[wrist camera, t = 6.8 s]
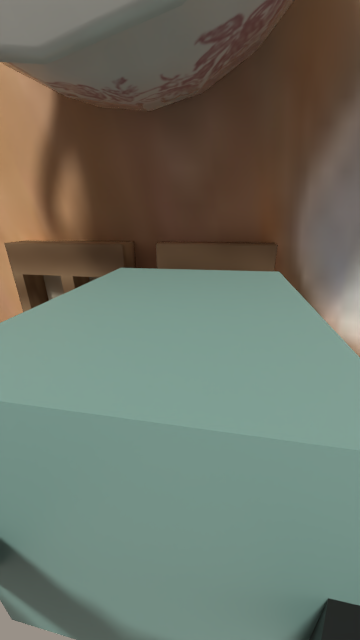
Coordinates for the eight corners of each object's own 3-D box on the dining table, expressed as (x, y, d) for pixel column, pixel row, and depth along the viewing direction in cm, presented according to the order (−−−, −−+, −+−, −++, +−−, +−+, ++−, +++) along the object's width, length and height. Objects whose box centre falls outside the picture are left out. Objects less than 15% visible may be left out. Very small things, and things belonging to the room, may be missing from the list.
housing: (259, 409, 18) (306, 711, 7) (133, 394, 19) (11, 619, 9) (279, 271, 14) (459, 464, 3) (120, 267, 16) (-132, 383, 5)
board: (260, 345, 27) (273, 409, 18) (165, 337, 29) (134, 391, 20) (274, 242, 23) (300, 259, 14) (161, 241, 25) (121, 255, 16)
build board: (141, 335, 30) (132, 347, 27) (47, 327, 32) (30, 338, 30) (133, 241, 26) (121, 244, 23) (26, 240, 28) (4, 243, 25)
